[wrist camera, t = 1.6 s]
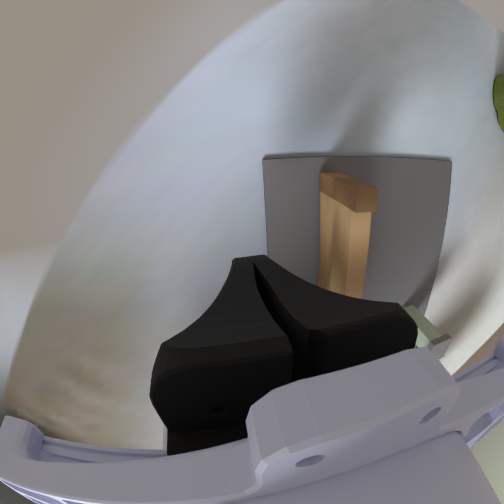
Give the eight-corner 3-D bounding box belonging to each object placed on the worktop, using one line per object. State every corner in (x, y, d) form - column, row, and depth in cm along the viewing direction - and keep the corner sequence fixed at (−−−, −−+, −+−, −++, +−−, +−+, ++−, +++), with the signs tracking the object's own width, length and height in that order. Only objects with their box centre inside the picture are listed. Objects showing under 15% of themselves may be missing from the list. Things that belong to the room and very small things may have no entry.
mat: (421, 319, 25) (422, 320, 25) (272, 356, 23) (272, 358, 23) (449, 161, 18) (452, 161, 18) (262, 159, 16) (263, 160, 16)
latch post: (409, 318, 24) (443, 356, 19) (392, 323, 24) (425, 364, 19) (414, 299, 23) (451, 337, 18) (396, 304, 23) (433, 345, 18)
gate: (330, 299, 21) (358, 340, 16) (316, 302, 21) (341, 345, 16) (336, 171, 17) (378, 187, 12) (319, 172, 17) (357, 188, 12)
